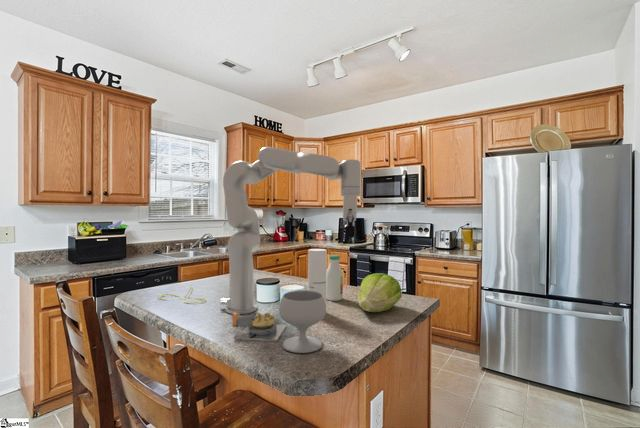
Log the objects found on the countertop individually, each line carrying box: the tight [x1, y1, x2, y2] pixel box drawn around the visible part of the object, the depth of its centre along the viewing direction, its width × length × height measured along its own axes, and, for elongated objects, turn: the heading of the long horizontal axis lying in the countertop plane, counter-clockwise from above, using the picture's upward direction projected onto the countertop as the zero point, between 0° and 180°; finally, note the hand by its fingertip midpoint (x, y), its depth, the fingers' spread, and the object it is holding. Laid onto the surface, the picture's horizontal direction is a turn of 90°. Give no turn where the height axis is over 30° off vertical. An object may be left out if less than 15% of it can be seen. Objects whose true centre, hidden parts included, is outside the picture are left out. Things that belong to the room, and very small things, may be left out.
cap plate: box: [235, 322, 287, 343], centre depth 106 cm, size 13×13×2 cm
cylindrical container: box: [307, 248, 328, 305], centre depth 127 cm, size 7×7×25 cm
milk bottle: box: [326, 254, 344, 302], centre depth 148 cm, size 8×8×20 cm
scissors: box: [158, 286, 207, 304], centre depth 146 cm, size 25×10×5 cm, turn 68°
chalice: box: [278, 290, 327, 354], centre depth 96 cm, size 14×14×15 cm
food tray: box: [231, 312, 275, 329], centre depth 105 cm, size 14×8×4 cm, turn 98°
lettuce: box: [357, 272, 402, 313], centre depth 130 cm, size 17×24×14 cm
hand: (350, 236), depth 124 cm, fingers open, 9 cm apart
